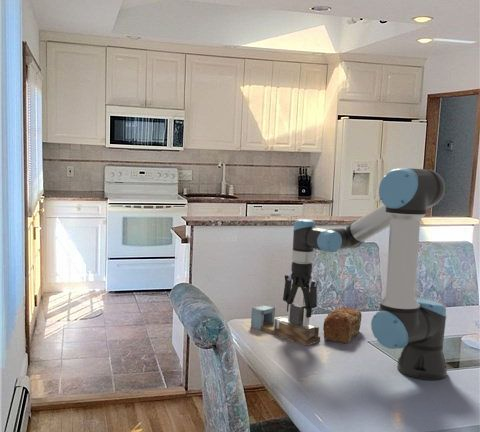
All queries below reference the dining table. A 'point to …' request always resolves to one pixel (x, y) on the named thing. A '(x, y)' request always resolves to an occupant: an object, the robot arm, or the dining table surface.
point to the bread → (342, 324)
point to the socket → (262, 315)
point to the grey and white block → (296, 319)
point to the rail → (291, 332)
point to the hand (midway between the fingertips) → (298, 323)
